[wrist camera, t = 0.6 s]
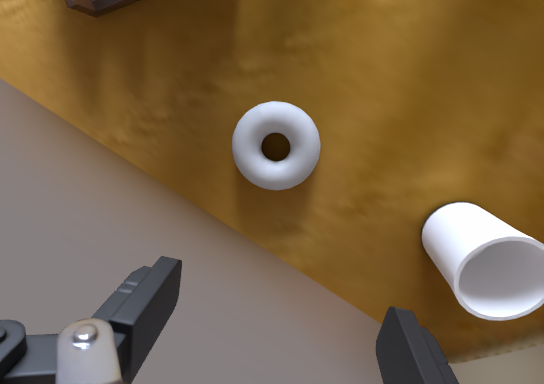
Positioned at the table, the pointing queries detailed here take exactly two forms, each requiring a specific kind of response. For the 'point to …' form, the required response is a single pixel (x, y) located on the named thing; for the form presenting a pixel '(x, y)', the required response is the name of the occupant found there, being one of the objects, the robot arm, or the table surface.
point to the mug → (485, 261)
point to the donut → (280, 121)
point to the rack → (97, 6)
